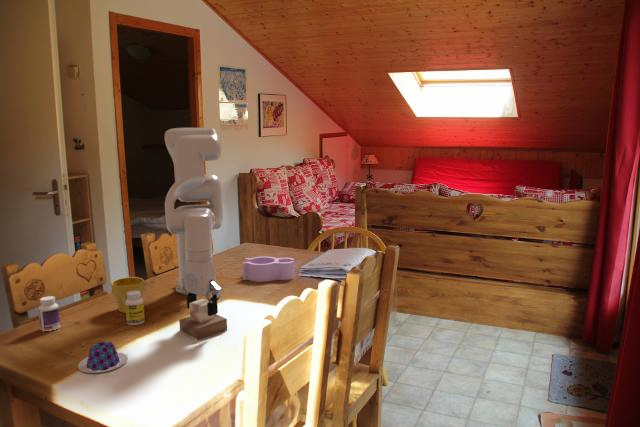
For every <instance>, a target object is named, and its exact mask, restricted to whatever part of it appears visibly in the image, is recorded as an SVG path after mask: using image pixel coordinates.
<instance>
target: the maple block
mask: <svg viewBox="0 0 640 427" xmlns="http://www.w3.org/2000/svg"><path fill="white" fill-rule="evenodd" d="M207 303H208V300H207V299H205V298H200V299H197V301H194V302H191V303H189V307H190V309H189V316H190V319H191V320H194V321H197V322H199V323H203V322H205V321H208V320H210V319H213V318H214V315H212V316H208V309H207Z"/></svg>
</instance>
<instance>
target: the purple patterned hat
mask: <svg viewBox="0 0 640 427" xmlns="http://www.w3.org/2000/svg"><path fill="white" fill-rule="evenodd" d="M127 361H128V355H127V354H126V353H123V352H119V351H117V350H116V347H115V344H114V343H113V342H112V341H102V342H96V343H95V344H92V345H91V346H90V347H89V351H88V356H87V357H85V358H83V359H82V360H81V361H79V363H78V365H77V368H78V370H79V371H81V372H84V373H89V374H96V373H97V374H98V373H104V372H109V371H112V370H115V369H117V368H120V367H122V366H123V365H124V364H126V362H127Z"/></svg>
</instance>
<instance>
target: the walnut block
mask: <svg viewBox="0 0 640 427" xmlns="http://www.w3.org/2000/svg"><path fill="white" fill-rule="evenodd" d="M178 320H179V331H180V332H182V333H184V334H186V335H187V336H189V337H191V338H193V339H195V340H197V341H201V340H203V339H206V338H209V337H213V336H214V335H217V334H220V333H224V332H227V331H228V320H227V318H226V317H223V316H222V315H219V314H218V313H217V314H214V318H213V319H210V320H208V321H205V322H203V323H199V322H197V321H194V320H191V319H190V315H189V316H186V317H183V318H179V319H178Z"/></svg>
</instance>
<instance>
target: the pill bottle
mask: <svg viewBox="0 0 640 427" xmlns="http://www.w3.org/2000/svg"><path fill="white" fill-rule="evenodd" d="M39 301H40V305H39V306H38V309H37V310H38V318H39V326H40V331H41V330H42V332H44V331H49V332H53V331H52V330H54V331H57V330H59V329H60V328H61V319H60V311H59V310H60V308H59V304H58V303H56V297H55V296H52V295H48V296H47V295H46V296H44V297H41V298H40V299H39ZM58 328H59V329H58ZM56 329H57V330H56Z"/></svg>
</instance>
